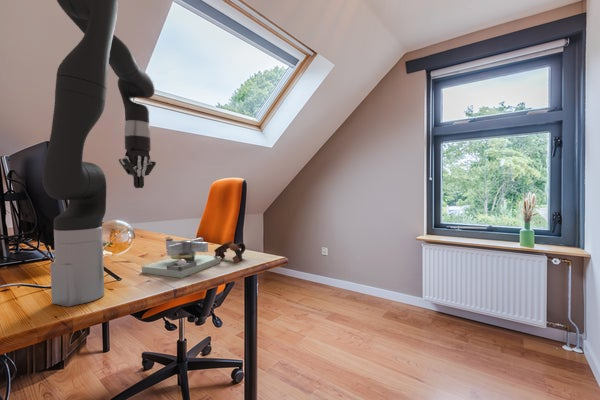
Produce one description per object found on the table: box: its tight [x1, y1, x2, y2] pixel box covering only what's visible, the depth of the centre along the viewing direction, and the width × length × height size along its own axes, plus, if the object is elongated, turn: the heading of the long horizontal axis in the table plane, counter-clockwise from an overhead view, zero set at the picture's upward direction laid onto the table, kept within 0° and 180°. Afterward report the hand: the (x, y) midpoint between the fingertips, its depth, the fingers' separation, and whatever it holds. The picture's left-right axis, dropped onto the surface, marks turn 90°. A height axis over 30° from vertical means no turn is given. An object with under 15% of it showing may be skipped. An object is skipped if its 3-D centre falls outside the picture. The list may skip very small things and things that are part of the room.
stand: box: [141, 254, 221, 279], centre depth 96 cm, size 19×16×3 cm
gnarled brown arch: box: [213, 240, 246, 264], centre depth 107 cm, size 12×10×8 cm
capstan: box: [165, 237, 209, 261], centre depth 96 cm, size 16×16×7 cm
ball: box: [177, 259, 186, 266], centre depth 89 cm, size 3×3×3 cm
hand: (138, 188), depth 96 cm, fingers closed
